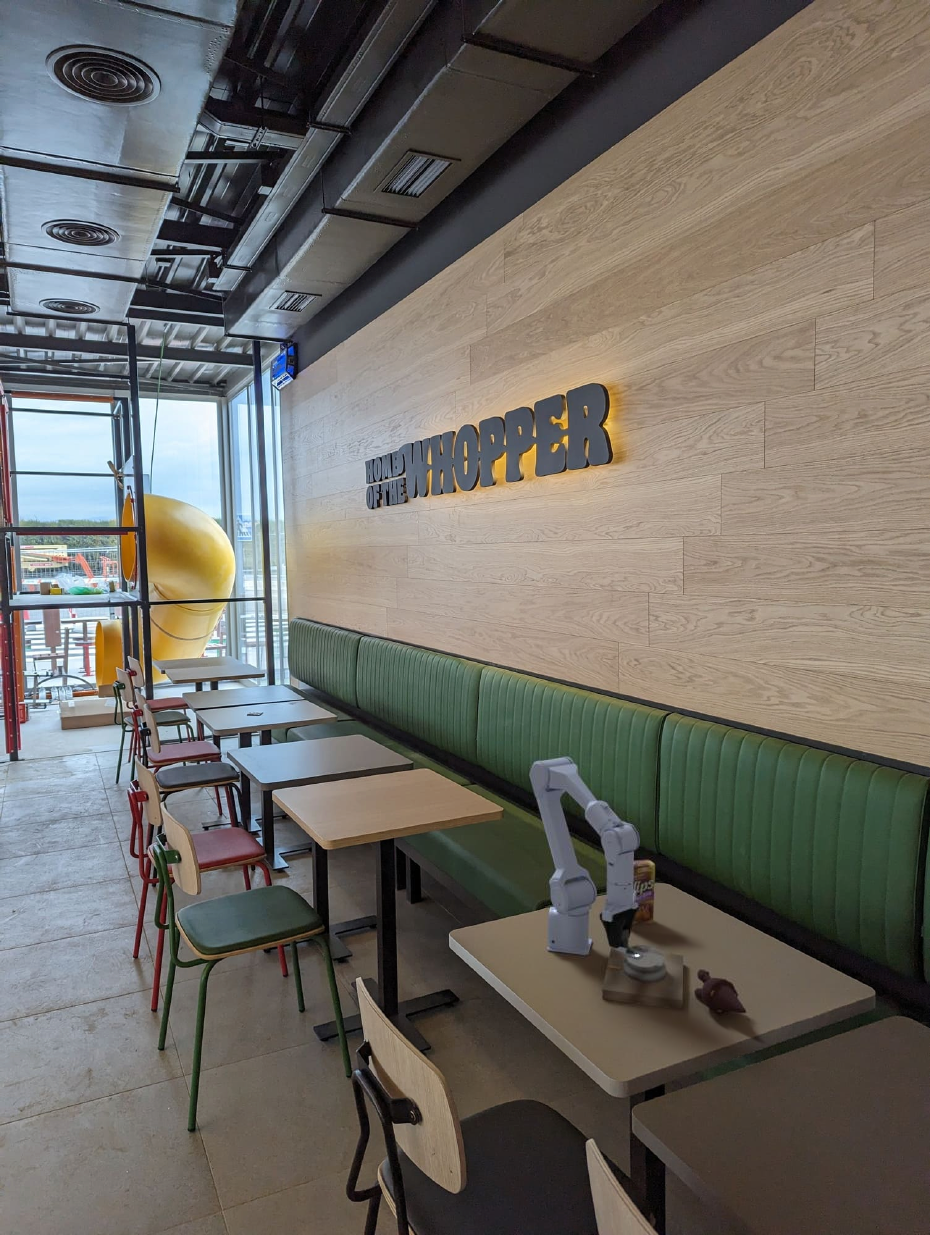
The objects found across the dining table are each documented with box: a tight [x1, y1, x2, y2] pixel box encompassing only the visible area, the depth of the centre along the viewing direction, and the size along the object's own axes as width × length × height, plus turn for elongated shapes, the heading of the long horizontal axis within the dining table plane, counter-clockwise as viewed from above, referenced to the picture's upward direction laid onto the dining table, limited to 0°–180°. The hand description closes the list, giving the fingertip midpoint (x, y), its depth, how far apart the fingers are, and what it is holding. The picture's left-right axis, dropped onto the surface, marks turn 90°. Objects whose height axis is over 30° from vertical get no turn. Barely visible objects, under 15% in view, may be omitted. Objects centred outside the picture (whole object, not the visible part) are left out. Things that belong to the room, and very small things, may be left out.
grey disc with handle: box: [615, 926, 664, 973], centre depth 179 cm, size 11×8×6 cm
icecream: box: [693, 968, 747, 1016], centre depth 166 cm, size 7×7×15 cm
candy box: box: [633, 859, 656, 925], centre depth 208 cm, size 9×4×15 cm, turn 102°
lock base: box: [601, 947, 684, 1011], centre depth 178 cm, size 16×20×4 cm
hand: (619, 941), depth 181 cm, fingers open, 5 cm apart
